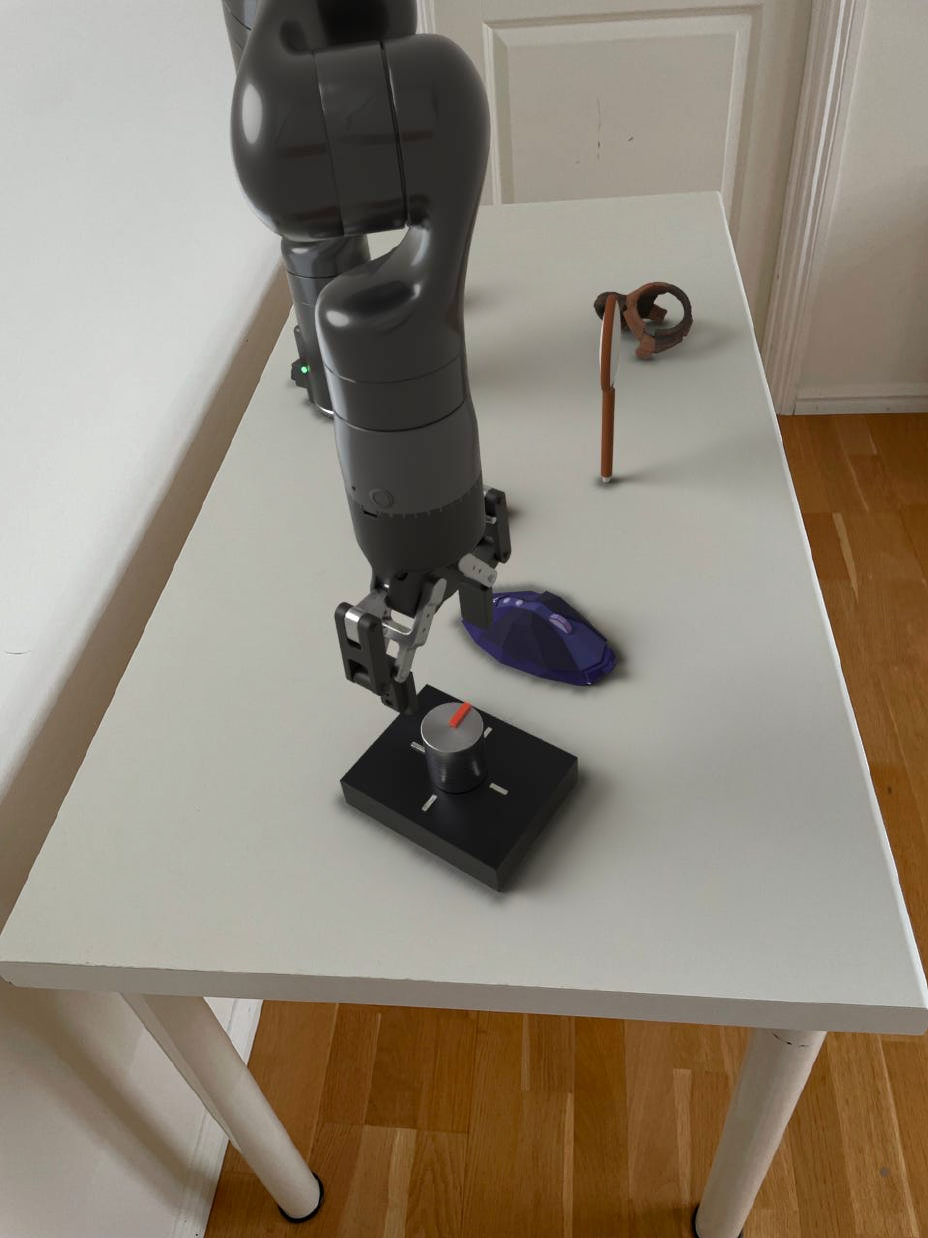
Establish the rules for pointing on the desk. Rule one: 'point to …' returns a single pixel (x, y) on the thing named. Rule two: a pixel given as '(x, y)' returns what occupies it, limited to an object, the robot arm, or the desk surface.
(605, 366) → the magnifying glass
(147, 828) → the desk surface
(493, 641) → the computer mouse
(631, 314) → the brown ring sculpture
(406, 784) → the panel
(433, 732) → the hob knob
